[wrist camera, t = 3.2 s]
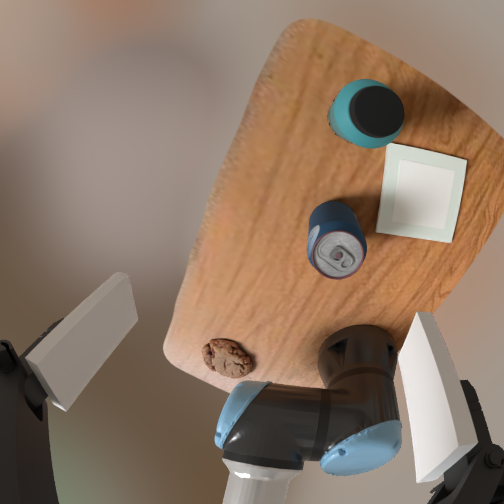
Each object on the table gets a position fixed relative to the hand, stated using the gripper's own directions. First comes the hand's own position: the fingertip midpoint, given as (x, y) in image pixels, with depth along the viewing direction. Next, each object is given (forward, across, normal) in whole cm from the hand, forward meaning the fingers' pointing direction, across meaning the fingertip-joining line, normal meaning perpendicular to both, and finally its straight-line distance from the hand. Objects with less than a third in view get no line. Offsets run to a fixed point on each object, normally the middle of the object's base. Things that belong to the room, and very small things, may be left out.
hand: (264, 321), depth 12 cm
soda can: (+31, -5, +6) cm, 32 cm away
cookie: (+31, +11, +36) cm, 48 cm away
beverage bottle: (+31, -6, -10) cm, 33 cm away
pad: (+31, -18, 0) cm, 36 cm away
